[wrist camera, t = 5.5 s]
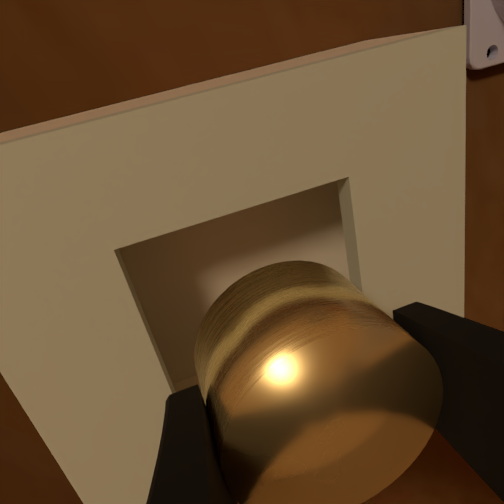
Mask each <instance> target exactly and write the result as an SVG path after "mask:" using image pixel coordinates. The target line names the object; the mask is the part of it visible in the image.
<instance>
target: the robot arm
mask: <svg viewBox="0 0 504 504" xmlns="http://www.w3.org/2000/svg"><path fill="white" fill-rule="evenodd" d="M464 25H466V67H467V68H468V69H470V70H477V69H483V68H487V67H491V66H494V65H498V64H501V63H504V0H464ZM489 48H490V55H489V57H488V58H487V50H488V49H489ZM393 320H394V321H395V322H396V323H397V324H399V325H400V326H401V327H402V328H403V329H404V330H405V331H406V332H408V333H409V334H410V335H411V336H412V337H413V338H414V339H415V340H417V341H418V342H419V343H420V344H421V345H422V346H423V347H424V348H426V349H427V350H428V352H429V353H430V354H431V355H432V357H433V358H434V359H435V361H436V363H437V365H438V367H439V370H440V373H441V377H442V383H443V401H442V407H441V412H440V415H439V418H438V422H437V424H436V426H435V428H436V429H437V430H438V431H439V432H440V433H441V435H442V436H443V437H444V438H445V439H446V440H447V441H448V442H449V443H450V444H451V446H452V447H453V448H454V449H455V450H456V451H457V452H458V453H459V454H460V455H461V456H462V457H463V459H464V460H465V461H466V462H467V463H468V464H469V465H470V466H471V467H472V468H473V469H474V470H475V471H476V473H477V474H478V475H479V476H480V477H481V478H482V479H483V480H484V481H485V482H486V483H487V484H488V486H489V487H490V488H491V489H492V490H493V491H494V492H495V493H496V494H497V495H498V496H499V497H500V499H501V500H502V501H503V502H504V332H503V331H500V330H497V329H494V328H492V327H489V326H486V325H483V324H480V323H477V322H475V321H472V320H469V319H466V318H463V317H461V316H458V315H455V314H452V313H449V312H447V311H444V310H441V309H438V308H435V307H432V306H429V305H426V304H423V303H420V302H414V303H411V304H408V305H406V306H403V307H400V308H398V309H395V310H393ZM146 504H237V501H236V499H235V498H234V497H233V496H232V494H231V493H230V491H229V489H228V487H227V485H226V483H225V480H224V477H223V473H222V469H221V465H220V462H219V457H218V453H217V448H216V443H215V439H214V435H213V432H212V428H211V424H210V420H209V416H208V412H207V408H206V405H205V402H204V399H203V397H202V394H201V391H200V388H199V386H198V384H197V385H194V386H191V387H189V388H186V389H183V390H181V391H178V392H175V393H173V394H170V395H169V396H168V398H167V400H166V403H165V414H164V422H163V428H162V434H161V440H160V445H159V450H158V456H157V460H156V464H155V469H154V473H153V477H152V482H151V486H150V490H149V495H148V499H147V502H146Z"/></svg>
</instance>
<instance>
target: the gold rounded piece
mask: <svg viewBox="0 0 504 504" xmlns="http://www.w3.org/2000/svg"><path fill="white" fill-rule="evenodd" d="M194 361H195V368H196V372H197V376H198V380H199V384H200V387H201V391H202V395H203V399H204V402H205V405H206V408H207V412H208V416H209V420H210V424H211V428H212V432H213V435H214V439H215V443H216V448H217V453H218V457H219V462H220V465H221V469H222V473H223V477H224V480H225V483H226V485H227V487H228V489H229V491H230V493H231V494H232V496H233V497H234V498H235V499H236V500H237V502H238V503H240V504H361V503H363V502H364V501H366V500H368V499H370V498H371V497H373V496H374V495H376V494H378V493H379V492H380V491H382V490H383V489H385V488H386V487H387V486H389V485H390V484H391V483H392V482H393V481H395V480H396V479H397V478H398V477H399V476H400V475H401V474H402V473H403V472H404V471H405V470H406V469H407V468H408V467H409V466H410V465H411V464H412V463H413V462H414V460H415V459H416V458H417V457H418V456H419V454H420V453H421V451H422V450H423V448H424V447H425V446H426V444H427V442H428V440H429V439H430V437H431V435H432V433H433V431H434V429H435V426H436V424H437V422H438V418H439V415H440V412H441V407H442V401H443V383H442V377H441V373H440V370H439V367H438V365H437V363H436V361H435V359H434V358H433V357H432V355H431V354H430V353H429V352H428V350H427V349H426V348H424V347H423V346H422V345H421V344H420V343H419V342H418V341H417V340H415V339H414V338H413V337H412V336H411V335H410V334H409V333H408V332H406V331H405V330H404V329H403V328H402V327H401V326H400V325H399V324H397V323H396V322H395V321H394V320H393V319H392V318H391V317H390V316H388V315H387V314H386V313H385V312H384V311H383V310H382V309H381V308H379V307H378V306H377V305H376V304H375V303H374V302H373V301H372V300H370V299H369V298H368V297H367V296H366V295H365V294H364V293H362V292H361V291H360V290H359V289H358V288H357V287H356V286H355V285H353V284H352V283H351V282H350V281H349V280H348V279H347V278H345V277H344V276H343V275H342V274H341V273H339V272H338V271H336V270H334V269H333V268H331V267H328V266H326V265H323V264H320V263H316V262H312V261H301V260H298V261H284V262H278V263H274V264H271V265H267V266H264V267H262V268H259V269H257V270H254V271H252V272H250V273H249V274H247V275H245V276H243V277H242V278H240V279H239V280H237V281H236V282H235V283H233V284H232V285H230V286H229V287H228V288H227V289H226V290H225V291H224V292H223V293H222V294H221V295H220V296H219V297H218V298H217V299H216V300H215V302H214V303H213V304H212V305H211V307H210V308H209V310H208V311H207V313H206V315H205V317H204V319H203V321H202V323H201V325H200V327H199V330H198V333H197V336H196V341H195V347H194Z"/></svg>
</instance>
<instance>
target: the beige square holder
mask: <svg viewBox="0 0 504 504" xmlns="http://www.w3.org/2000/svg"><path fill="white" fill-rule="evenodd" d="M465 136H466V25H462V26H455V27H449V28H443V29H436V30H430V31H423V32H417V33H410V34H404V35H398V36H391V37H385V38H378V39H372V40H366V41H362V42H358V43H354V44H350V45H346V46H342V47H338V48H334V49H330V50H326V51H322V52H318V53H314V54H310V55H306V56H302V57H298V58H294V59H291V60H287V61H283V62H279V63H275V64H271V65H267V66H263V67H259V68H255V69H251V70H247V71H243V72H239V73H235V74H231V75H227V76H223V77H219V78H216V79H212V80H208V81H204V82H200V83H196V84H192V85H188V86H184V87H180V88H176V89H172V90H168V91H164V92H160V93H156V94H152V95H148V96H144V97H141V98H137V99H133V100H129V101H125V102H121V103H117V104H113V105H109V106H105V107H101V108H97V109H93V110H89V111H85V112H81V113H77V114H73V115H70V116H66V117H62V118H58V119H54V120H50V121H46V122H42V123H38V124H34V125H30V126H26V127H22V128H18V129H14V130H10V131H6V132H2V133H0V372H1V374H2V375H3V377H4V379H5V380H6V382H7V383H8V385H9V386H10V388H11V390H12V391H13V393H14V394H15V396H16V398H17V399H18V401H19V402H20V404H21V405H22V407H23V409H24V410H25V412H26V413H27V415H28V417H29V418H30V420H31V421H32V423H33V424H34V426H35V428H36V429H37V431H38V432H39V434H40V435H41V437H42V439H43V440H44V442H45V443H46V445H47V447H48V448H49V450H50V451H51V453H52V454H53V456H54V458H55V459H56V461H57V462H58V464H59V466H60V467H61V469H62V470H63V472H64V473H65V475H66V477H67V478H68V480H69V481H70V483H71V484H72V486H73V488H74V489H75V491H76V492H77V494H78V496H79V497H80V499H81V500H82V502H83V503H84V504H146V502H147V499H148V495H149V490H150V486H151V482H152V477H153V473H154V469H155V464H156V460H157V456H158V450H159V445H160V440H161V434H162V428H163V422H164V414H165V403H166V400H167V398H168V396H169V395H170V394H173V393H175V392H178V391H181V390H183V389H186V388H189V387H191V386H194V385H197V384H198V386H199V388H200V391H201V387H200V384H199V380H198V376H197V372H196V368H195V361H194V347H195V341H196V336H197V333H198V330H199V327H200V325H201V323H202V321H203V319H204V317H205V315H206V313H207V311H208V310H209V308H210V307H211V305H212V304H213V303H214V302H215V300H216V299H217V298H218V297H219V296H220V295H221V294H222V293H223V292H224V291H225V290H226V289H227V288H228V287H229V286H230V285H232V284H233V283H235V282H236V281H237V280H239V279H240V278H242V277H243V276H245V275H247V274H249V273H250V272H252V271H254V270H257V269H259V268H262V267H264V266H267V265H271V264H274V263H278V262H284V261H298V260H301V261H312V262H316V263H320V264H323V265H326V266H328V267H331V268H333V269H334V270H336V271H338V272H339V273H341V274H342V275H343V276H344V277H345V278H347V279H348V280H349V281H350V282H351V283H352V284H353V285H355V286H356V287H357V288H358V289H359V290H360V291H361V292H362V293H364V294H365V295H366V296H367V297H368V298H369V299H370V300H372V301H373V302H374V303H375V304H376V305H377V306H378V307H379V308H381V309H382V310H383V311H384V312H385V313H386V314H387V315H388V316H390V317H391V318H392V319H393V310H395V309H398V308H400V307H403V306H406V305H408V304H411V303H414V302H420V303H423V304H426V305H429V306H432V307H435V308H438V309H441V310H444V311H447V312H449V313H452V314H455V315H458V316H461V317H463V318H464V255H465ZM201 394H202V391H201ZM202 397H203V395H202Z"/></svg>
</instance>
